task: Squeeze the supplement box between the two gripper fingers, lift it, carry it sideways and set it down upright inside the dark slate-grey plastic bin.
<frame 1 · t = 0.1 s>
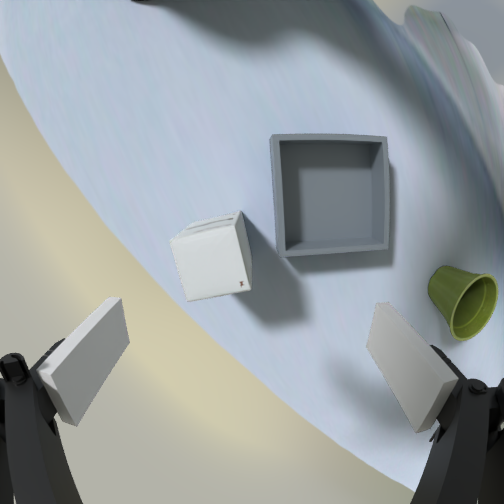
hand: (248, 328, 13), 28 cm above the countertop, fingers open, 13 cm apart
grey bin: (326, 191, 39), on the countertop
plant pot: (440, 283, 43), on the countertop
supplement box: (222, 238, 41), on the countertop
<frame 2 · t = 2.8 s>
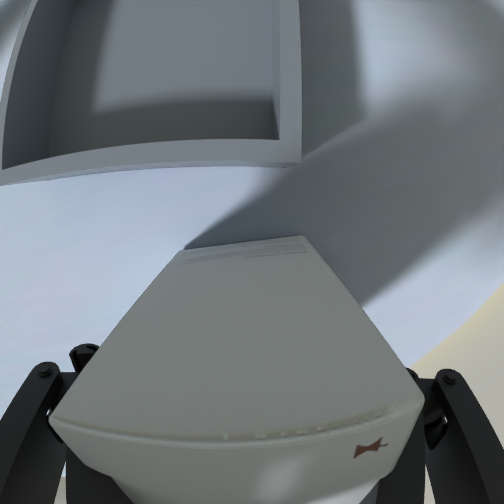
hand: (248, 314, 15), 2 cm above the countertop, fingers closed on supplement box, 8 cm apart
grey bin: (153, 47, 12), on the countertop
supplement box: (248, 299, 17), on the countertop, touching gripper
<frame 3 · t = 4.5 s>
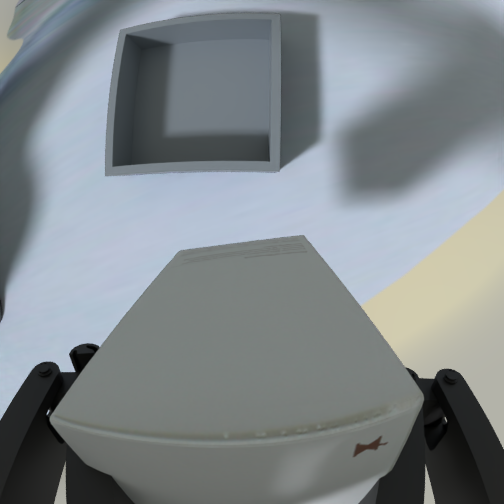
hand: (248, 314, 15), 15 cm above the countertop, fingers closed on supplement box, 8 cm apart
grey bin: (199, 98, 25), on the countertop
supplement box: (248, 299, 17), point 13 cm above the countertop, touching gripper
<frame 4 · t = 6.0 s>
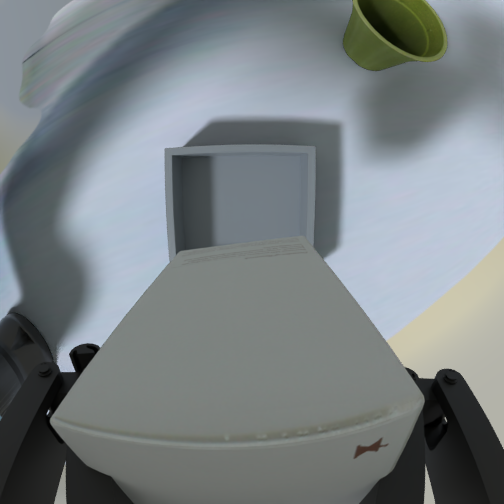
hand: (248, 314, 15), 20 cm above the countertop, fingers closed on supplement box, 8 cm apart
grey bin: (241, 213, 33), on the countertop
plant pot: (367, 50, 27), on the countertop
supplement box: (248, 299, 17), point 18 cm above the countertop, touching gripper
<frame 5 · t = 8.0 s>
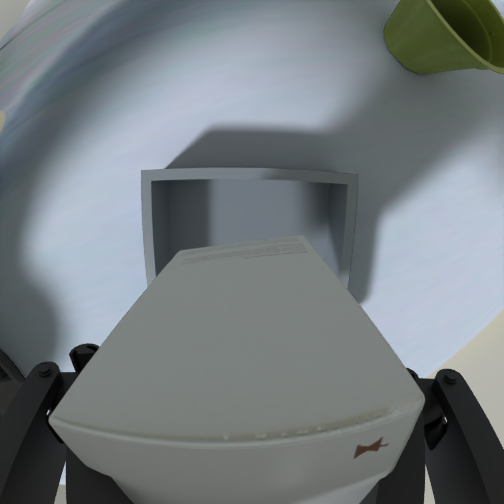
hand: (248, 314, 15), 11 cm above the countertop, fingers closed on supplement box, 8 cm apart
grey bin: (247, 257, 25), on the countertop
plant pot: (411, 48, 20), on the countertop
supplement box: (248, 299, 17), point 9 cm above the countertop, touching gripper
when the fingers open (5 cm above the countertop, at t = 9.5 s): supplement box drops 3 cm, resting on grey bin.
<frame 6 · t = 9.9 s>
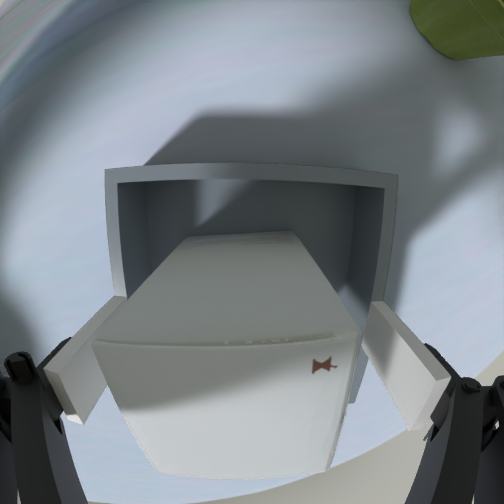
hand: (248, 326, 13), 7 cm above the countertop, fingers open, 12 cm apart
grey bin: (249, 279, 20), on the countertop
plant pot: (439, 29, 14), on the countertop
supplement box: (242, 283, 19), resting on grey bin
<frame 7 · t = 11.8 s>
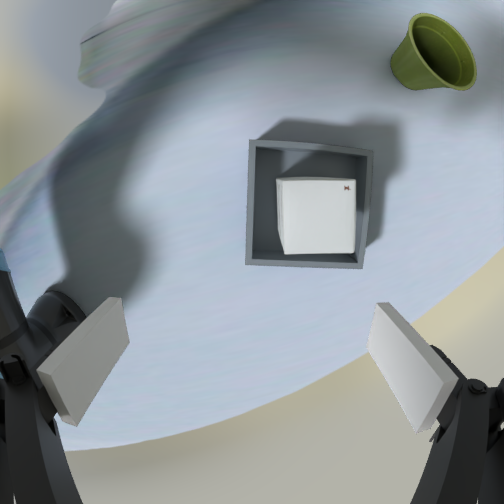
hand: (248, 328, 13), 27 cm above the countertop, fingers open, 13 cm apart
grey bin: (304, 202, 38), on the countertop
plant pot: (408, 71, 32), on the countertop
supplement box: (302, 203, 38), resting on grey bin
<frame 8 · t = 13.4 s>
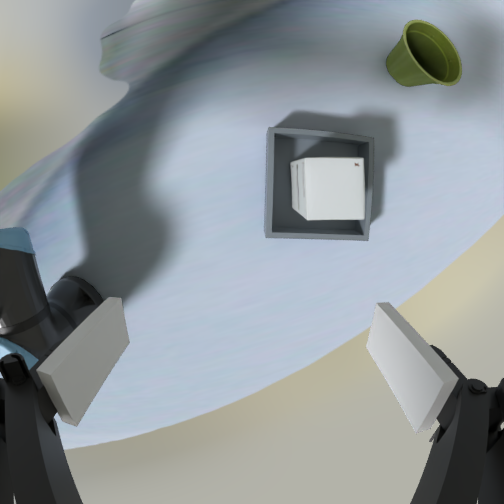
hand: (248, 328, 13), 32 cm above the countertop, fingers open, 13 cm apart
grey bin: (315, 184, 42), on the countertop
plant pot: (402, 70, 36), on the countertop
supplement box: (312, 184, 42), resting on grey bin
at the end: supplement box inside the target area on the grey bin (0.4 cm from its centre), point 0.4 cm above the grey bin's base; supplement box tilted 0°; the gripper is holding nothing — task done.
